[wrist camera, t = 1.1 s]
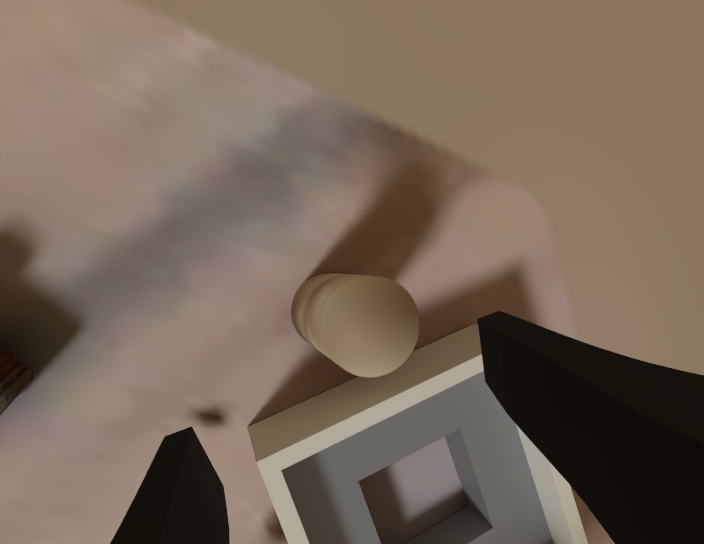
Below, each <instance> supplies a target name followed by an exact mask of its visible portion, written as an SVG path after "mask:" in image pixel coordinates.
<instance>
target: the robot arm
mask: <svg viewBox="0 0 704 544" xmlns="http://www.w3.org/2000/svg"><path fill="white" fill-rule="evenodd" d="M477 321H478V329H479V337H480V345H481V353H482V360H483V368H484V376H485V382H486V384H487V385H488V387H489V388H490V390H491V391H492V393H493V394H494V396H495V397H496V399H497V400H498V402H499V403H500V404H501V406H502V407H503V409H504V410H505V412H506V413H507V414H508V416H509V417H510V418H511V419H512V420H513V421H514V423H515V424H516V425H517V426H518V427H519V428H520V429H521V430H522V432H523V433H524V434H525V435H526V436H527V437H528V438H529V440H530V441H531V442H532V443H533V444H534V445H535V446H536V447H537V448H538V450H539V451H540V452H541V453H542V454H543V455H544V456H545V457H546V459H547V460H548V461H549V462H550V463H551V464H552V465H553V466H554V467H555V469H556V470H557V471H558V472H559V473H560V474H561V475H562V476H563V478H564V479H565V480H566V481H567V482H568V483H569V484H570V485H571V487H572V488H573V489H574V490H575V491H576V493H577V494H578V495H579V496H580V497H581V499H582V500H583V501H584V502H585V504H586V505H587V506H588V508H589V509H590V510H591V512H592V513H593V514H594V516H595V517H596V518H597V520H598V521H599V522H600V524H601V525H602V527H603V528H604V529H605V531H606V532H607V533H608V535H609V536H610V537H611V539H612V540H613V541H614V543H615V544H704V376H703V375H698V374H694V373H689V372H684V371H680V370H676V369H672V368H668V367H664V366H660V365H656V364H651V363H647V362H644V361H640V360H637V359H633V358H630V357H627V356H624V355H620V354H617V353H614V352H611V351H608V350H604V349H601V348H598V347H595V346H592V345H589V344H586V343H584V342H581V341H578V340H575V339H572V338H570V337H567V336H564V335H562V334H559V333H556V332H554V331H551V330H548V329H546V328H543V327H541V326H538V325H536V324H533V323H530V322H528V321H525V320H523V319H520V318H517V317H515V316H512V315H509V314H507V313H504V312H501V311H498V312H495V313H492V314H490V315H487V316H484V317H482V318H479V319H477ZM110 544H229V524H228V516H227V508H226V501H225V494H224V487H223V484H222V483H221V481H220V479H219V477H218V475H217V473H216V471H215V469H214V468H213V466H212V464H211V462H210V460H209V458H208V456H207V454H206V453H205V451H204V449H203V447H202V445H201V443H200V441H199V439H198V438H197V436H196V434H195V432H194V430H193V428H192V427H189V428H186V429H184V430H181V431H178V432H176V433H173V434H170V435H168V436H165V437H164V439H163V441H162V443H161V445H160V447H159V449H158V451H157V453H156V455H155V457H154V459H153V461H152V463H151V465H150V467H149V469H148V471H147V474H146V476H145V478H144V480H143V482H142V484H141V486H140V488H139V490H138V492H137V494H136V496H135V498H134V500H133V502H132V504H131V506H130V507H129V509H128V511H127V513H126V515H125V517H124V519H123V521H122V523H121V525H120V527H119V529H118V530H117V532H116V534H115V536H114V538H113V539H112V541H111V543H110Z"/></svg>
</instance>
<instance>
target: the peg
mask: <svg viewBox="0 0 704 544" xmlns="http://www.w3.org/2000/svg"><path fill="white" fill-rule="evenodd" d="M291 315H292V321H293V324H294V327H295V329H296V330H297V332H298V334H299V335H300V336H301V337H302V338H303V339H304V340H305V341H307V342H308V343H309V344H311V345H312V346H313V347H315V348H316V349H317V350H319V351H320V352H321V353H323V354H324V355H325V356H327V357H328V358H329V359H331V360H332V361H333V362H335V363H336V364H338V365H339V366H340V367H342V368H343V369H344V370H346V371H347V372H349V373H351V374H354V375H357V376H361V377H379V376H383V375H386V374H388V373H390V372H392V371H394V370H396V369H397V368H398V367H400V366H401V365H402V364H403V363H404V362H405V361H406V360H407V359H408V357H409V356H410V355H411V353H412V351H413V349H414V347H415V345H416V342H417V339H418V335H419V314H418V310H417V307H416V305H415V302H414V300H413V299H412V297H411V295H410V294H409V293H408V291H407V290H406V289H405V288H404V287H402V286H401V285H400V284H399V283H397V282H395V281H394V280H391V279H389V278H386V277H382V276H371V275H354V274H336V273H324V274H319V275H316V276H314V277H311V278H310V279H308V280H307V281H306V282H304V283H303V284H302V285H301V286H300V288H299V289H298V291H297V292H296V294H295V296H294V299H293V302H292V308H291Z"/></svg>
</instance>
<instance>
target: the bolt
mask: <svg viewBox="0 0 704 544" xmlns="http://www.w3.org/2000/svg"><path fill="white" fill-rule="evenodd" d="M5 350H6V348H0V415H1V414H2V413H3V411H4V410H5V409H6V408H7V407H8V406H9V405H10V404H11V403H12V402H13V401H14V399H15V398H16V397H17V396H18V395H19V394H20V393H21V392H22V391H23V390H24V389H25V388H26V387H27V386H28V385H29V384H30V382H31V381H32V380H33V379H34V375H33V369H34V367H30V368H26V366H27V362H24V363H20V358H14V359H12V358H13V353H6V354H5Z"/></svg>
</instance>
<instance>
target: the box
mask: <svg viewBox="0 0 704 544" xmlns="http://www.w3.org/2000/svg"><path fill="white" fill-rule="evenodd" d="M247 428H248V432H249V435H250V439H251V443H252V447H253V451H254V455H255V458H256V462H257V465H258V467H259V470H260V472H261V475H262V478H263V480H264V483H265V485H266V488H267V490H268V493H269V495H270V498H271V500H272V503H273V506H274V508H275V511H276V513H277V516H278V518H279V521H280V523H281V526H282V529H283V531H284V534H285V536H286V539H287V541H288V544H381V542H380V539H379V537H378V534H377V531H376V528H375V526H374V523H373V520H372V518H371V515H370V512H369V509H368V507H367V504H366V501H365V498H364V496H363V493H362V490H361V487H360V485H359V482H358V481H360V480H362V479H364V478H366V477H368V476H369V475H371V474H373V473H375V472H377V471H379V470H381V469H383V468H385V467H387V466H389V465H390V464H392V463H394V462H396V461H398V460H400V459H402V458H404V457H406V456H408V455H410V454H411V453H413V452H415V451H417V450H419V449H421V448H423V447H425V446H427V445H429V444H431V443H432V442H434V441H436V440H438V439H440V438H442V437H444V436H445V437H446V440H447V443H448V446H449V449H450V452H451V455H452V458H453V461H454V464H455V467H456V470H457V473H458V476H459V478H460V481H461V484H462V487H463V490H464V493H465V496H466V499H467V502H468V506H467V507H465V508H463V509H461V510H460V511H458V512H456V513H455V514H453V515H451V516H449V517H448V518H446V519H444V520H443V521H441V522H439V523H437V524H436V525H434V526H432V527H431V528H429V529H427V530H425V531H424V532H422V533H420V534H419V535H417V536H415V537H413V538H412V539H410V540H408V541H407V542H405V543H403V544H588V542H587V539H586V535H585V532H584V529H583V526H582V522H581V519H580V516H579V513H578V509H577V506H576V503H575V500H574V496H573V493H572V490H571V487H570V484H569V483H568V482H567V481H566V480H565V479H564V478H563V476H562V475H561V474H560V473H559V472H558V471H557V470H556V469H555V467H554V466H553V465H552V464H551V463H550V462H549V461H548V460H547V459H546V457H545V456H544V455H543V454H542V453H541V452H540V451H539V450H538V448H537V447H536V446H535V445H534V444H533V443H532V442H531V441H530V440H529V438H528V437H527V436H526V435H525V434H524V433H523V432H522V430H521V429H520V428H519V427H518V426H517V425H516V424H515V423H514V421H513V420H512V419H511V418H510V417H509V416H508V414H507V413H506V412H505V410H504V409H503V407H502V406H501V404H500V403H499V402H498V400H497V399H496V397H495V396H494V394H493V393H492V391H491V390H490V388H489V387H488V385H487V384H486V382H485V376H484V368H483V360H482V353H481V345H480V337H479V329H478V324H472V325H470V326H468V327H466V328H464V329H461V330H459V331H457V332H455V333H453V334H450V335H448V336H446V337H444V338H442V339H439V340H437V341H435V342H433V343H431V344H428V345H426V346H424V347H422V348H420V349H417V350H415V351H413V352H412V353H411V355H410V356H409V357H408V359H407V360H406V361H405V362H404V363H403V364H402V365H401V366H400V367H398V368H397V369H396V370H394V371H392V372H390V373H388V374H386V375H383V376H379V377H361V376H358V377H356V378H354V379H351V380H349V381H347V382H345V383H343V384H340V385H338V386H336V387H334V388H332V389H329V390H327V391H325V392H323V393H321V394H319V395H316V396H314V397H312V398H310V399H308V400H305V401H303V402H301V403H299V404H297V405H294V406H292V407H290V408H288V409H286V410H283V411H281V412H279V413H277V414H275V415H272V416H270V417H268V418H266V419H264V420H261V421H259V422H257V423H255V424H253V425H250V426H248V427H247Z"/></svg>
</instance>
